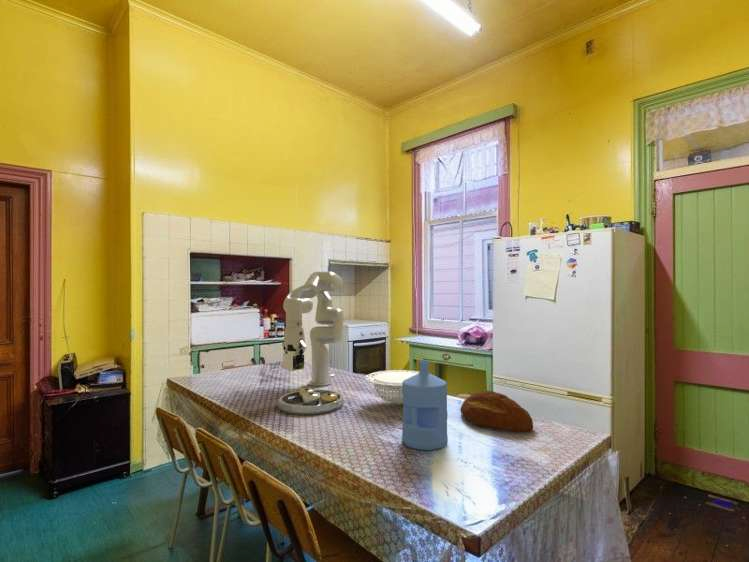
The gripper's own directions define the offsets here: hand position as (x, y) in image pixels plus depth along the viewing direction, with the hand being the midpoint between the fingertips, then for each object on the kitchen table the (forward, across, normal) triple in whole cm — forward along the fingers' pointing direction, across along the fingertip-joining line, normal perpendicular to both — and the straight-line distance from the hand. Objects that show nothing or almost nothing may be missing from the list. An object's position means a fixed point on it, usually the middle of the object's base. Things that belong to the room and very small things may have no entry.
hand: (293, 361), depth 196 cm
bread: (+19, -87, -28) cm, 93 cm away
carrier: (+18, -12, -1) cm, 22 cm away
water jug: (+19, -76, +6) cm, 78 cm away
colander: (+18, -43, -25) cm, 53 cm away
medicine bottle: (+4, 0, 0) cm, 4 cm away
